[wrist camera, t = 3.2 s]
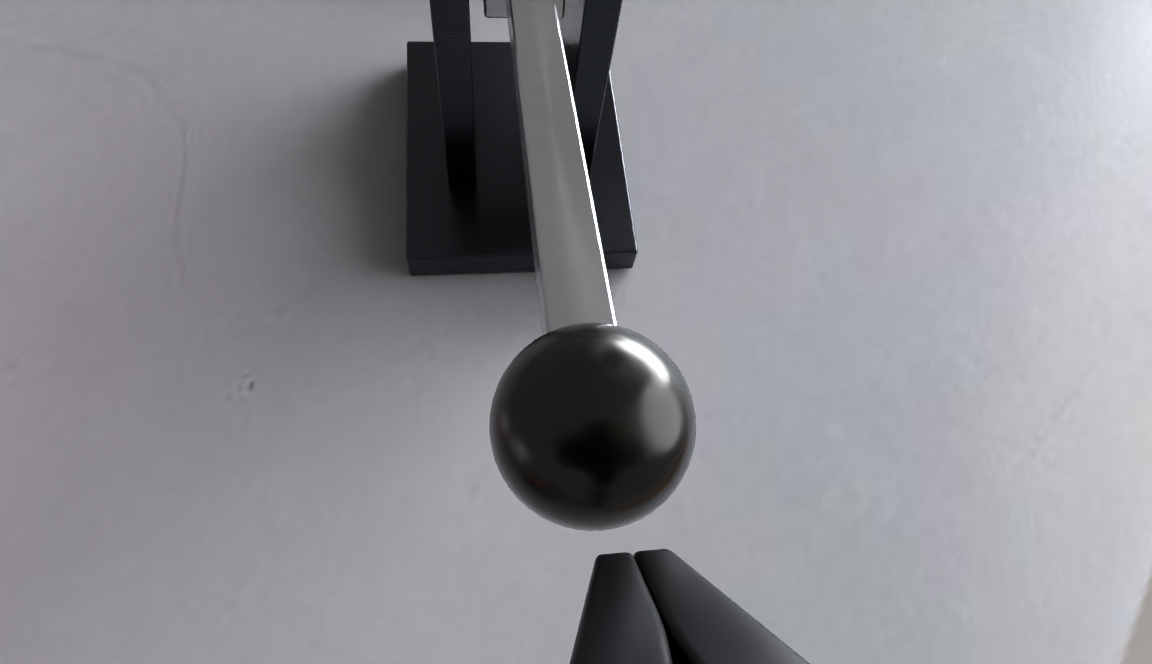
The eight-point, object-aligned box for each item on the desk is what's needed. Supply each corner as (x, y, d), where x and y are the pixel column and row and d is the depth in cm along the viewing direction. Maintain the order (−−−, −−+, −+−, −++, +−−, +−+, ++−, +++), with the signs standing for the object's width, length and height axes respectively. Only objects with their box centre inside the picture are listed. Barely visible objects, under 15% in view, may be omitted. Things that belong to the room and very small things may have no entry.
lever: (692, 553, 11) (742, 461, 9) (496, 571, 11) (492, 479, 8) (567, -19, 22) (574, -129, 19) (467, -21, 21) (462, -133, 19)
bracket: (632, 268, 26) (712, 33, 16) (409, 276, 25) (353, 29, 15) (602, 64, 30) (651, -222, 20) (409, 63, 29) (365, -238, 19)
